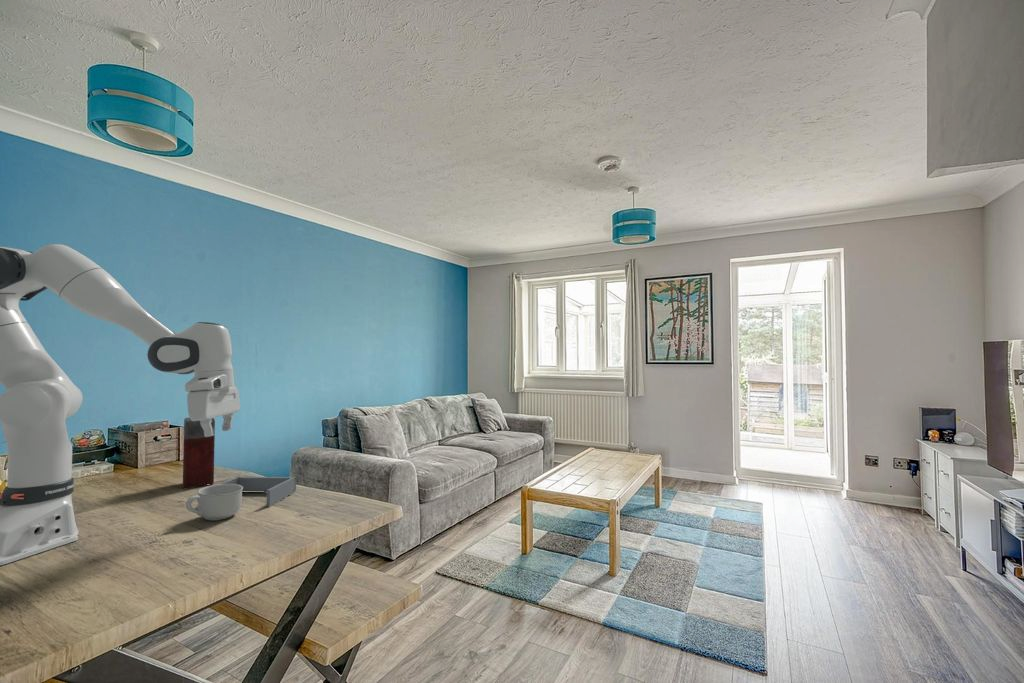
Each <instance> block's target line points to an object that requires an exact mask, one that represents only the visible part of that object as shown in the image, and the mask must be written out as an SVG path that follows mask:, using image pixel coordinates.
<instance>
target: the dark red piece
mask: <svg viewBox="0 0 1024 683" xmlns="http://www.w3.org/2000/svg"><path fill="white" fill-rule="evenodd" d="M215 420H216V419H215V418H212V423H211V425H212V429H214V435H213V436H210V437H205V436H204V430H203V428H202V426H201V424H200V421H192V420H191V419H190V417H189V416H188V417H185V418H184V419H183V451H182V452H183V456H182V457H183V458H182V464H183V465H182V489H183V488H187V489H191V488H190V487H194V488H197V487H196V486H201V487H203V486H202V485H207V484H213V483H214V484H215V445H216V443H215V440H216V437H215V435H216V432H215V431H216V421H215Z"/></svg>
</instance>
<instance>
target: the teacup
mask: <svg viewBox="0 0 1024 683" xmlns="http://www.w3.org/2000/svg"><path fill="white" fill-rule="evenodd" d="M242 490H243V487H242V486H241V485H238V484H221V483H219V484H214V485H209V486H203V487H202V488H200V489H199V490H198V491H197V493H198V495H196V494H195V495H192V496H190V497H189V498H188V499H187V500H186V502H185V506H186V509H187V510H188V511H189V512H192V513H195V514H196V515H197V516H198V517H202V518H204V520H207V521H222V519H223V520H226V518H227V519H229V518H231V517H233V516H234V515H235V514H236V513H238V511H239V510H240V509H241V507H242V501H243V500H242V499H243V493H242ZM196 500H197V509H195V508H194V507H193V506H192V503H193V501H196Z"/></svg>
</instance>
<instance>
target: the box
mask: <svg viewBox="0 0 1024 683" xmlns="http://www.w3.org/2000/svg"><path fill="white" fill-rule="evenodd" d="M220 484H238V485H241V486H242V487H243V490H242V491H264V492H267V493H266V504H265V505H266V506H271V505H273V504H274V505H276V504H277V502H278V501H280V500H282V499H283V498H285V497H287V496H288V495H290V494H292V493H294V492H295V491H296V490H297V477H296V476H236V477H234V478H231V479H228V480H226V481H223V482H221V483H220ZM296 492H297V491H296ZM294 494H295V493H294ZM292 495H293V494H292ZM290 496H291V495H290ZM287 498H288V497H287ZM285 499H286V498H285ZM283 500H284V499H283ZM283 500H282V501H283ZM280 502H281V501H280ZM275 503H276V504H275ZM278 503H279V502H278ZM274 505H273V506H274ZM271 507H272V506H271Z"/></svg>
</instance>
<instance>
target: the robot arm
mask: <svg viewBox="0 0 1024 683" xmlns="http://www.w3.org/2000/svg"><path fill="white" fill-rule="evenodd" d="M47 289H48V290H50V291H51V292H52V293H54V294H55V295H56V296H58V297H59V298H60V299H61V300H62V301H64V302H65V303H67V304H68V305H70V306H71V307H73V308H74V309H76V310H78V311H79V312H81V313H83V314H85V315H87V316H90V317H92V318H95V319H99V320H101V321H105V322H108V323H111V324H114V325H116V326H118V327H122V328H123V329H125V330H127V331H129V332H130V333H132V334H133V335H135V336H136V337H138V338H139V339H140V340H141V341H143V342H144V343H145V344H147V345H148V346H149V347H148V350H147V354H146V355H147V360H148V362H149V365H151V366H152V368H154V369H155V370H158V371H160V372H163V373H167V374H178V375H189V374H193V373H194V376H193V377H192V378H191V379H190V380H189V381H187V382H186V383H185V385H184V389H185V392H188V393H187V395H186V397H187V398H186V402H187V404H186V406H187V411H188V412H187V413H188V417H190V419H191V420H192V421H200V424H201V426H202V428H203V430H204V436H205V437H210V436H213V435H214V429H212V425H211V423H212V418H214V419H215V418H218V417H222V419H223V421H222V422H223V424H222V425H221V428H222V429H221V430H222V431H223V432H227V431H232V424H233V420H234V413H238V412H240V409H241V401H240V394H239V389H238V387H236V386H235V377H234V367H233V364H232V357H233V347H232V340H231V335H230V331H229V330H228V328H227V327H226V326H225V325H222V324H220V323H215V322H208V321H199V322H195V323H193V324H192V325H191V326H189V327H188V328H186V329H184V330H182V331H180V332H176V333H175V332H174V331H172V330H171V329H169V328H168V327H167V326H166V325H164V324H163V323H162V322H160V321H159V320H158V319H157V318H155V316H153V315H152V314H151V313H149V312H148V311H146V310H145V309H144V308H143V307H142V306H141V305H140V304H139V302H137V301H136V300H135V299H134V297H132V295H130V293H129V292H128V291H127V290H126V288H124V287H123V286H122V285H121V284H120V282H118V281H117V279H116V278H114V277H113V276H112V275H111V274H110V273H109V272H108V271H106V270H105V269H104V268H103V267H101V266H100V265H98V264H97V263H96V262H94V260H92V259H91V258H89V257H88V256H85V255H84V254H83V253H81V252H79V251H78V250H75V249H73V248H72V247H70V246H68V245H66V244H61V243H53V244H47V245H44V246H41V247H40V248H38V249H37V250H35V251H34V252H32V251H26V250H24V249H19V248H17V247H15V248H14V247H11V246H0V384H1V386H2V387H4V389H5V391H4V392H3V393H1V394H0V426H1V430H2V433H3V437H4V441H5V445H6V446H5V447H6V451H7V475H6V476H7V477H6V478H7V479H6V480H7V482H6V486H5V487H4V488H3V490H2V492H0V566H4V565H6V564H10V563H12V562H16V561H19V560H22V559H25V558H28V557H31V556H34V555H36V554H40V553H43V552H46V551H50V550H52V549H54V548H57V547H61V546H64V545H67V544H69V543H72V542H75V541H78V539H79V537H78V536H79V533H80V531H79V529H78V527H77V524H76V518H75V513H74V512H75V511H74V506H73V498H72V497H73V496H72V495H73V492H75V491H74V490H75V483H74V482H75V480H74V477H73V476H72V475H73V473H72V472H73V445H72V443H71V442H70V438H69V434H68V430H67V423H66V420H67V419H69V418H70V417H72V416H74V415H75V414H76V413H77V411H78V410H79V409H80V407H82V405H83V404H82V403H83V398H84V396H83V393H82V390H80V388H79V387H78V386H77V385H75V384H74V382H72V380H71V379H70V377H69V376H68V375H67V374H66V373H65V371H64V370H63V369H62V368H61V367H60V366H59V364H57V362H56V361H54V359H53V358H52V357H51V355H50V354H49V353H48V352H47V351H46V349H45V347H44V346H43V344H42V343H41V341H40V340H39V338H38V337H37V335H36V333H35V332H34V330H33V329H32V327H31V325H30V324H29V322H28V321H27V319H26V318H25V316H24V314H23V313H22V311H21V308H20V307H19V306H20V305H19V302H20V301H24V302H25V301H26V302H27V301H29V300H31V299H33V298H34V297H36V296H37V295H38V294H40V293H42V292H44V291H46V290H47Z"/></svg>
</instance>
